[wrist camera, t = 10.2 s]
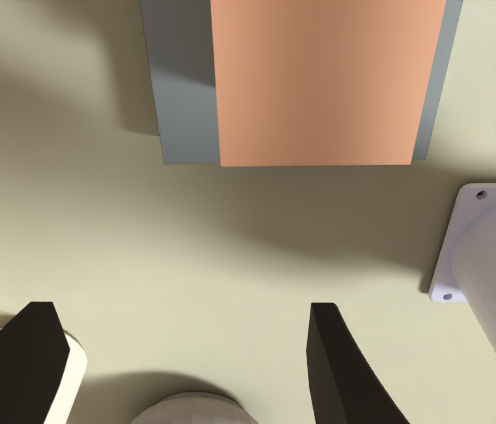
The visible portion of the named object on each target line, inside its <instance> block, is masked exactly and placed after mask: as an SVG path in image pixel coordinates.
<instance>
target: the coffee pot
mask: <svg viewBox="0 0 496 424" xmlns="http://www.w3.org/2000/svg"><path fill="white" fill-rule="evenodd" d="M130 424H258V423H257V422H256V421H255V420H254V419H253V418H252V417H251V416H250V415H249V414H247V413H246V412H245V411H244V410H243V408H242V407H240V406H239V405H238V404H237V403H235V402H234V401H232V400H230V399H228V398H226V397H223V396H219V395H216V394H212V393H204V392H184V393H179V394H175V395H171V396H169V397H166V398H164V399H162V400H161V401H159V402H158V403H157V404H156V405H153V406H151V407H149V408H148V409H146V410H145V411H143V412H142V413H141V414H139V415H138V416H137V417H136V418H134V419H133V420H132V421H131V423H130Z"/></svg>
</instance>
